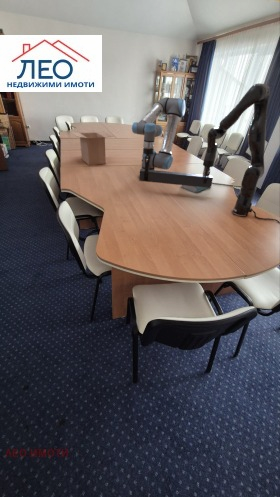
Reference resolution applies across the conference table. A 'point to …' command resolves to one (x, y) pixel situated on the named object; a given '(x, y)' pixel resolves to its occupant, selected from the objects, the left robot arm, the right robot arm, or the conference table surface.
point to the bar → (176, 178)
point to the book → (193, 188)
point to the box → (92, 146)
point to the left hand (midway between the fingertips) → (146, 179)
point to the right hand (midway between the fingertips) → (204, 182)
